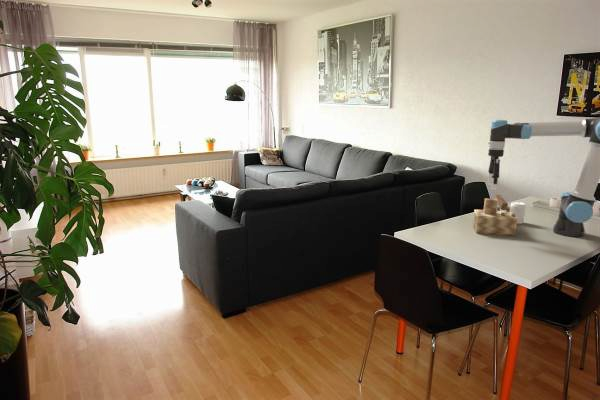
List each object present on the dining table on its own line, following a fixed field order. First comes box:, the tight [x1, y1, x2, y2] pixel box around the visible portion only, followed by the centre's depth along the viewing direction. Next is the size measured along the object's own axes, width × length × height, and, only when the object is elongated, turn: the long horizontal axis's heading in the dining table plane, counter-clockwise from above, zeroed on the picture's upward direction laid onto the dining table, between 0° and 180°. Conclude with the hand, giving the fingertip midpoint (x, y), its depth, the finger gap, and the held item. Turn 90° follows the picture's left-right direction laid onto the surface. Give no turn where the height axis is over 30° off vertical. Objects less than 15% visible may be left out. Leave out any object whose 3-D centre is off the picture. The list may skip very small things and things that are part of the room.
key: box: [494, 194, 509, 211], centre depth 263 cm, size 3×24×4 cm, turn 165°
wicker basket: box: [472, 205, 518, 237], centre depth 250 cm, size 20×20×12 cm
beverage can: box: [510, 201, 526, 225], centre depth 264 cm, size 8×8×12 cm
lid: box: [473, 197, 518, 220], centre depth 245 cm, size 21×14×9 cm
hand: (492, 187), depth 243 cm, fingers open, 13 cm apart
